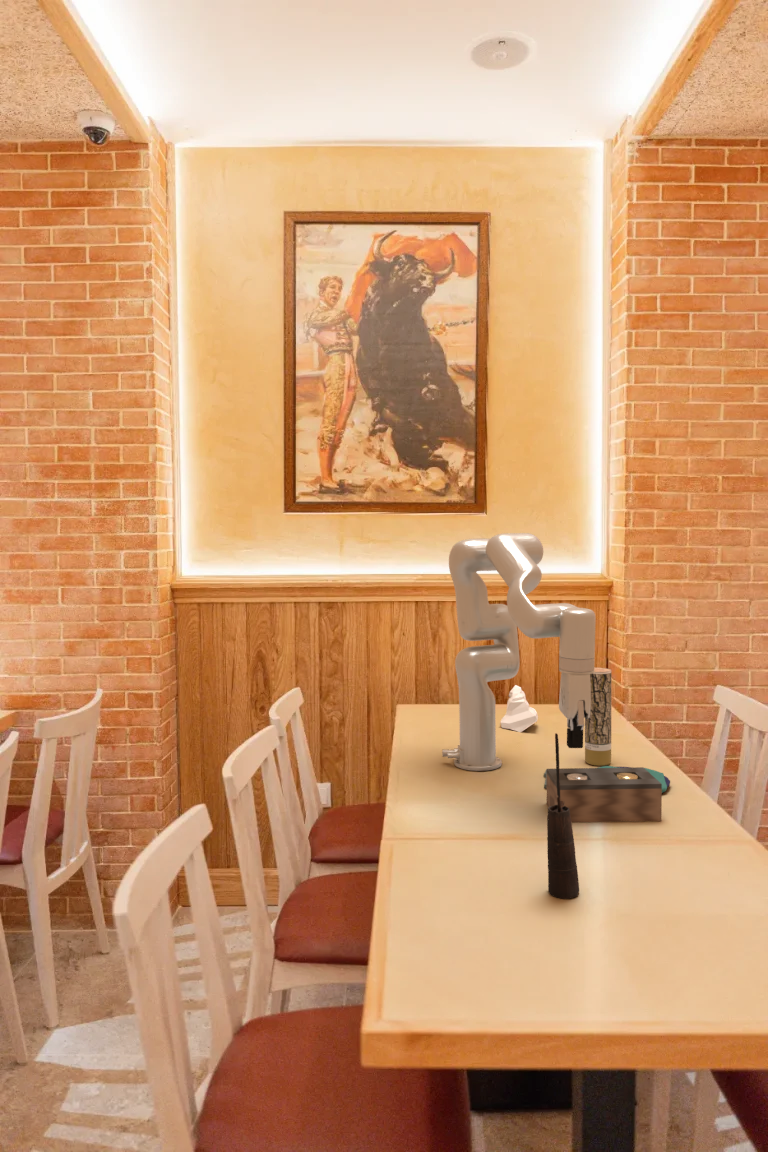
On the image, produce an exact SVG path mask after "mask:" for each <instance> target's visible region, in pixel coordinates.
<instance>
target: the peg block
mask: <svg viewBox="0 0 768 1152" xmlns="http://www.w3.org/2000/svg"><path fill="white" fill-rule="evenodd" d="M645 768H646V767H643V766H642V767H638V766H637V767H633V768H598V767H584V768H583V767H582V768H581V767H579V768H578V767H577V768H575V767H574V768H572V767H570V768H568V767H567V768H559V775H560V778H559V779H560V801H564V806H566V807H568V808H569V810H570V816H571V822H572V823H600V822H601V823H602V822H606V823H607V822H608V823H609V822H611V823H612V822H614V823H617V822H662V810H663V809H662V807H663V806H662V804H663V803H662V802H663V801H662V794H663V793H662V784H661V783H660V782H659V781H658V780H657V779H656V778H655V777H653V776H652V775H651V774H650V773H649V772H648V771H647V770H646V769H645ZM546 770H547V788H546V805H547V806H548V808H549V807H550V806H554V805H558V803H557V797H558V795H557V776H556V773H557V772H556V768H546ZM619 773H632V774H635V775H637V776H638V779H618V778H617V774H619ZM568 774H583V775H586V776H587V780H568V779H567V775H568ZM564 806H563V807H564Z"/></svg>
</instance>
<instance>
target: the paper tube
mask: <svg viewBox="0 0 768 1152" xmlns="http://www.w3.org/2000/svg"><path fill="white" fill-rule="evenodd" d="M590 683H591V684H590V686H591V709H590V717H589V718H588V719H585V718H584V761H585V762H586V764H588V765H590V766H595V767H603V766H610V765H611V763H612V669H610V668H604V667H594V673H592V674H590Z"/></svg>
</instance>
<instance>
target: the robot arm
mask: <svg viewBox="0 0 768 1152" xmlns="http://www.w3.org/2000/svg"><path fill="white" fill-rule="evenodd" d="M543 557H544V547H543V543H542V541H541V540H540V539H539V538H538V536H536V535H535V534H532V533H531V532H530V533H529V532H510V533H508V532H506V533H505V532H504V533H498V534H496V535H494V536H491V537H490V538H469V539H463V540H460V541H458V542H456V543H455V544H454V545H453V546H452V548H451V549H450V552H449V555H448V567H449V573H450V577H451V580H452V583H453V587H454V593H455V606H456V617H457V629H458V634H459V636H460V637H461V638H462V639H463V640H465V641H469V642H476V641H477V642H479V641H481V642H482V641H491V640H493V644H488V645H487V644H486V645H475V646H474V645H473V646H468V647H465V648H463V649H461V650H459V652H458V653H457V654H456V656H455V660H454V667H455V668H454V669H455V674H456V677H457V678H456V679H457V684H458V697H459V698H458V701H459V702H458V703H459V705H458V706H459V707H458V708H459V709H458V710H459V711H458V712H459V744H458V745H457V747H454V748H453V749H450V748H449V749H448V748H446V749H445V748H444V749H442V750H441V751H442V752H441V753H442V757H444V758H445V757H447V759H453V765H454V766H456V767H457V768H459V769H461V770H465V771H473V772H474V771H477V772H484V771H492V770H496V769H499V768H501V767H502V762H503V761H502V759H501V758H499V757H498V756H497V755H496V753H497V752H496V750H497V749H496V747H497V745H496V744H497V743H496V740H497V739H496V737H497V736H496V733H497V731H496V728H497V727H496V726H497V725H496V696H495V695H494V692H493V691H492V689H491V688H490V686H489V684H488V683H489V682H495V681H503V680H510V679H513V678H514V677H516V676H517V674H518V673H519V670H520V665H521V663H520V662H521V661H520V649H519V648H520V647H519V646H520V645H519V636H518V634H519V633H518V629H519V631H520V632H521V633H522V634H524V636H526V637H528V638H530V639H545V638H559V646H558V648H559V651H558V652H559V653H558V671H559V673H561V674H560V680H559V681H560V682H559V699H558V709H559V711H560V712H561V713H562V715H563V716H564V717H565V718H566V724H567V725H566V727H567V728H566V746H567V747H568V749H582V748H584V729H585V719H588V718H589V717H590V709H591V686H590V684H591V683H590V674H592V673H594V668H595V662H596V661H595V660H596V659H595V655H596V654H595V652H596V623H597V622H596V620H597V619H596V612H595V611H594V610H593V609H589V608H585V607H578V606H576V605H574V604H571V603H567V602H566V603H565V602H563V603H562V602H561V603H560V602H559V603H545V604H544V603H543V604H542V603H541V604H533V603H532V601H530V599H529V598H528V596H526V595H528V594H529V593H532V592H533V591H534V590H535V589H537V587H538V585H539V584H540V582H541V580H542V571H541V569H540V567H539V566H538V565H539V564H540V563H541V561H542V560H543ZM489 571H497V573H498V574H499V576H500V577H501V579H502V580H503V581H504V583H505V584H506V585H507V587H508V590H507V595H506V604H503V603H489V598H488V597H489V595H488V587H487V585H486V583H485V581H484V580H483V578H482V577H481V576H480V575H479V573H478V572H489Z"/></svg>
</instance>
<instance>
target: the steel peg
mask: <svg viewBox="0 0 768 1152" xmlns="http://www.w3.org/2000/svg"><path fill="white" fill-rule="evenodd" d="M567 779H568V780H587V776H586V775H583V774H568V775H567Z"/></svg>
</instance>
